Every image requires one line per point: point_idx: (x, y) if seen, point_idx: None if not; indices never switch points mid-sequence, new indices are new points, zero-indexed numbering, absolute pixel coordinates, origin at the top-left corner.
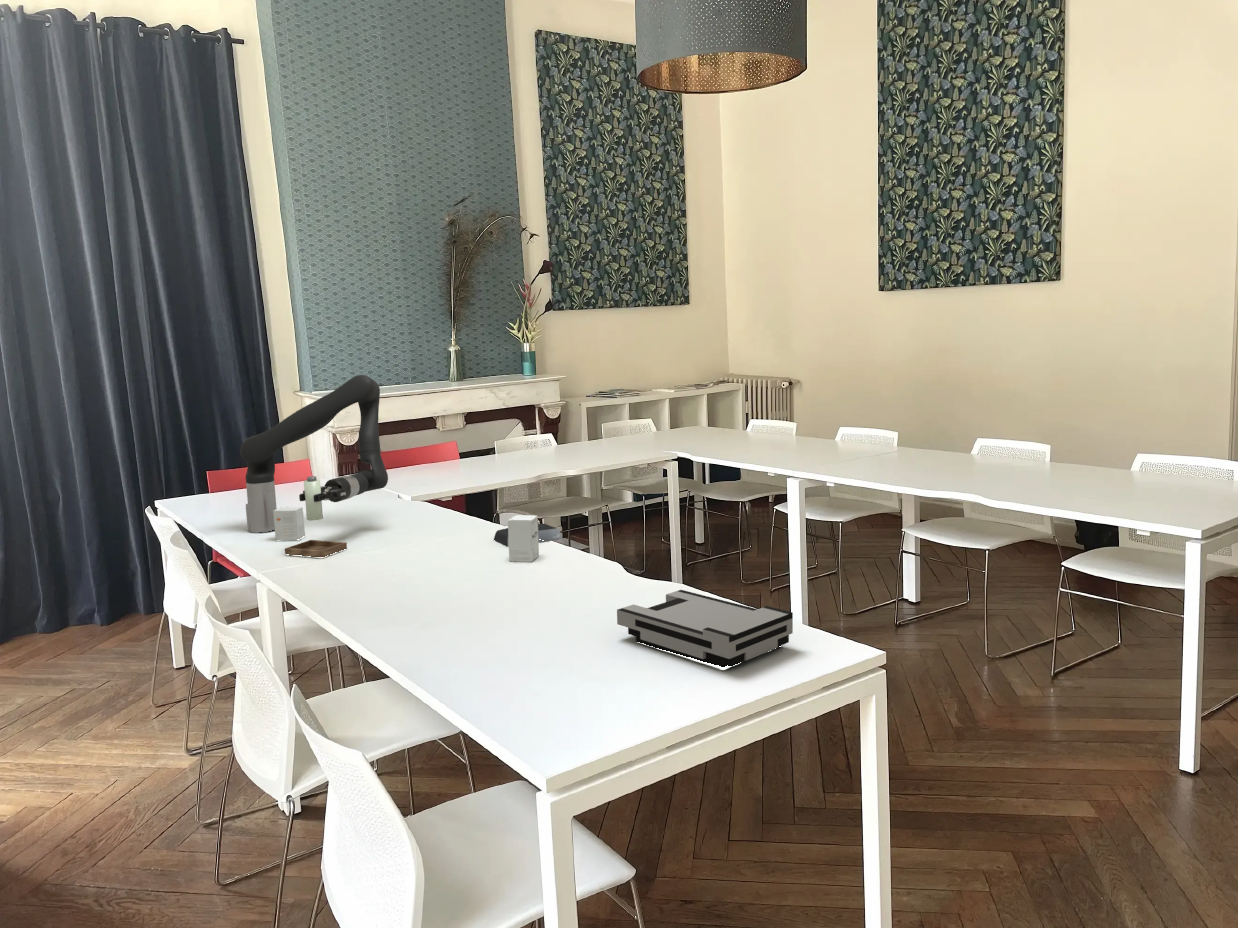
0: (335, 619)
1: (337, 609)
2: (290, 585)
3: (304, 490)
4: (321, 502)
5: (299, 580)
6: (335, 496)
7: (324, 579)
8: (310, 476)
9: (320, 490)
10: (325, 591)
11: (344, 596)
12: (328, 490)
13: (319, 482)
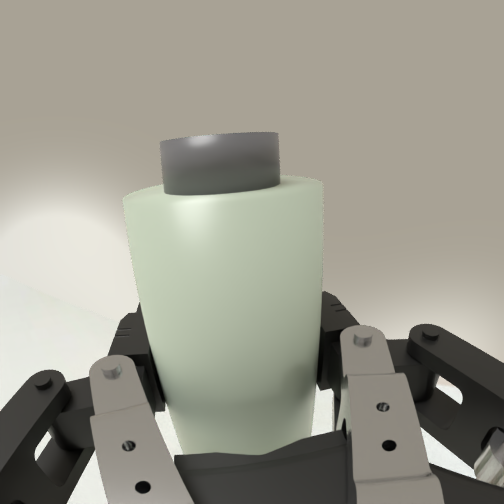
0: (11, 282)
1: (13, 294)
2: (104, 325)
3: (428, 327)
4: (176, 428)
5: (102, 343)
6: (48, 482)
7: (58, 355)
8: (273, 132)
9: (146, 326)
10: (38, 321)
11: (11, 316)
12: (94, 416)
13: (125, 222)
